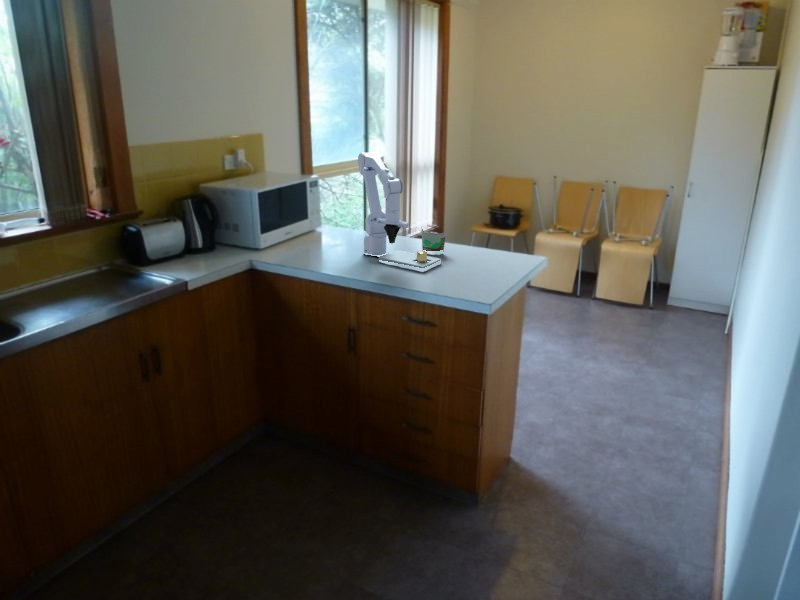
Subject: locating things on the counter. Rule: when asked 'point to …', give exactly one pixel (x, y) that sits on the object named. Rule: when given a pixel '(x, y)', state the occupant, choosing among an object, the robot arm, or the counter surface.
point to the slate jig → (407, 259)
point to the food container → (433, 240)
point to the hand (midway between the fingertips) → (392, 242)
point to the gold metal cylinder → (422, 257)
